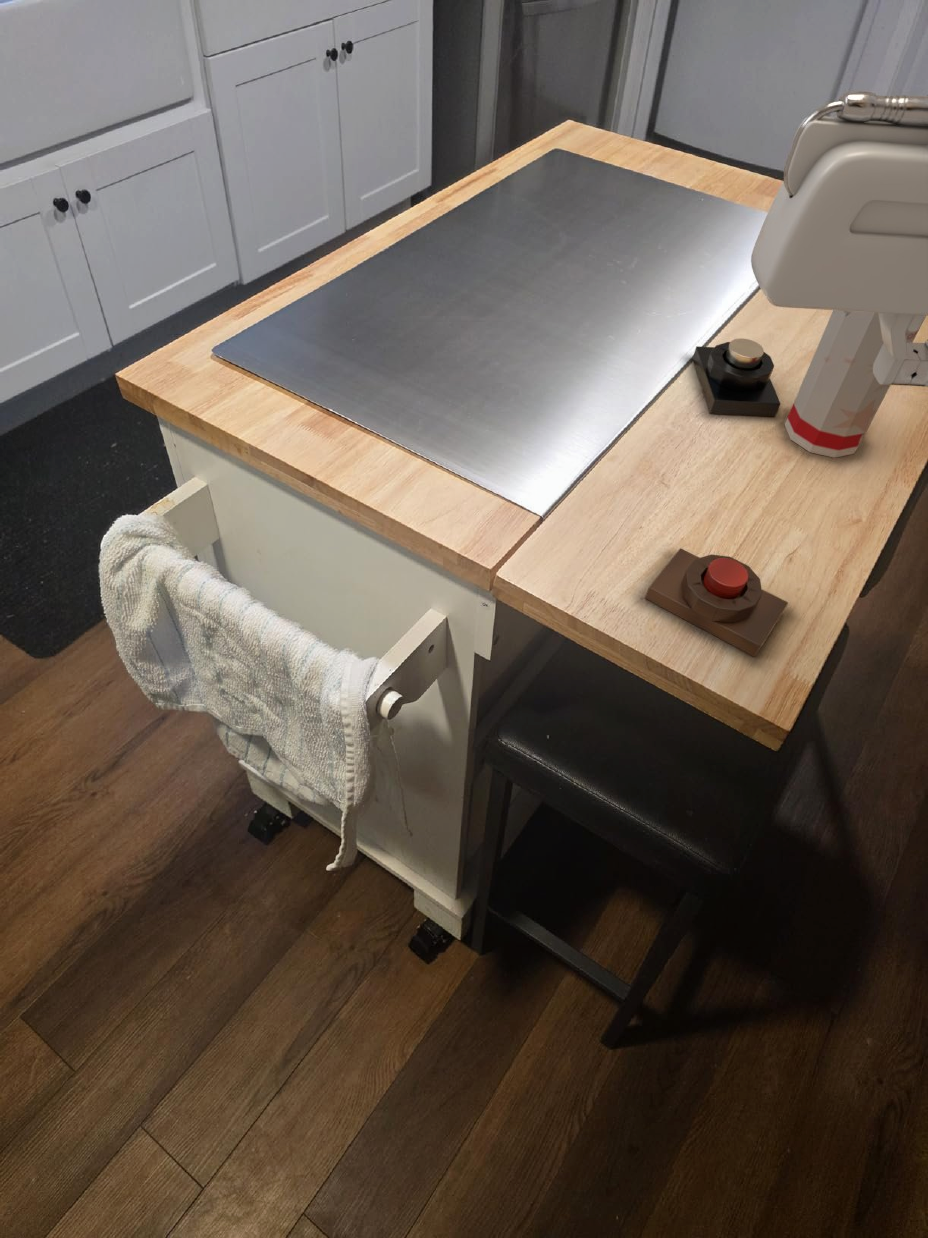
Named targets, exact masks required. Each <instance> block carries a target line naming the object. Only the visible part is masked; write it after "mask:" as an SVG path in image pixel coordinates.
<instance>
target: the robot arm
mask: <svg viewBox="0 0 928 1238" xmlns="http://www.w3.org/2000/svg"><path fill="white" fill-rule="evenodd" d="M833 113H835V114H836V116H827V115H830V114H833ZM750 265H751V269H752V273H753V275H754V278H755V279H756V282H757V284H758V286H759V288H760V290H761V291H762V293H763V294H764V296H765V297H766V299H767V301H768V302H769V303H770V304H771V305H772V306H774V307H776V308H777V307H778V308H786V309H807V310H823V311H833V310H839V311H856V312H873V313H878V314H879V321H880V327H881V334H882V340H883V342H884V343H883V345H882V347H881V349H880V351H879V353H878V355H877V358H876V360H875V362H874V364H873V374H874V376H875V378H876V379H877V381H878V383H879V384H882V385H890V386H905V387H907V386H908V387H923V388H924V387H925V388H928V339H926V340H925V341H924V342H913V343H909V342H906V330H908V331H910V332H915V331H917V330H918V329H919V327H920V325H921V323H922V321H923V320H924V321H925V319H926V317H927V316H928V95H919V94H918V95H915V94H901V95H878V94H876V93H875V92H871V91H865V90H864V91H863V90H856V91H855V90H854V91H849V92H844V93H843V94H842V95H840V97H839V99H838V100H835V101H832V102H831V101H830V102H828V103H826V104H823V105H821V106H820V107H818V108H817V109H816V110H814V111H813V112H812V113H810V114H809V115H808V116H807V117H805V118H804V119H803V120H802V121H801V122H800V124H799V126H798V127H797V129H796V132H795V135H794V137H793V140H792V143H791V146H790V149H789V152H788V155H787V157H786V161H785V163H784V169H783V181H782V183H781V185H780V186H779V188H778V191H777V192H776V195H775V197H774V199H773V201H772V204H771V205H770V208H769V210H768V211H767V214H766V216H765V219H764V221H763V224H762V225H761V228H760V231H759V233H758V236H757V238H756V240H755V243H754V246H753V249H752V252H751V256H750ZM925 316H926V317H925ZM924 318H925V319H924ZM924 321H923V322H924ZM922 324H923V323H922ZM921 326H922V325H921ZM920 328H921V327H920ZM919 330H920V329H919Z"/></svg>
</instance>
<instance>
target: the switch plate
mask: <svg viewBox="0 0 928 1238" xmlns="http://www.w3.org/2000/svg"><path fill="white" fill-rule="evenodd" d="M730 342H731V341H725V342H723V343H720V344H717V345H715V346H699V345H698V346H695V349H694V352H693V356H692V358H691V359H692V363H693V366H694V369H695V372H696V375H697V378H698V381H699V384H700V387H701V391H702V393H703V396H704V399H705V403H706V406H707V408H708V411H709V414H710V415H726V416H727V415H729V416H745V417H746V416H747V417H748V416H750V417H768V418H769V417H770V418H776V416H777V414H778V412H779V409H780V407H781V401H780V399H779V396H778V394H777V392H776V389H775V386H774V384H773V382H772V380H771V376H772V373H773V370H774V369H775V364H774V362H773V359H772V357H771V356H770V355H769V354H768V353H766V352H765V351H764V353H763V356H762V358H761V361H760V364H759V366H758V368H757V369H756V370H754V371H744V370H739V369H736V368H733V367H731V366H730V365H728V364H727V363H726V362H725V360H724V358H725V355H726V352H727V349H728V346H729V343H730Z"/></svg>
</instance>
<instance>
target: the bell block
mask: <svg viewBox="0 0 928 1238" xmlns="http://www.w3.org/2000/svg"><path fill="white" fill-rule="evenodd" d="M719 558H728V559H732V560H735V561H737V562H739V563H740V564H741V565H743V566H744V568H745V569H746V570H747V573H748V580H747V582H746V584H745V587H744V589H743V591H742V593H741V594H740V595H739V596H738V597H736V598H733V599H723V598H719V597H717V596H715V595H713V594H712V593H710V592H709V591H708V590H707V589H706V587H705V585H704V577H705V574H706V572H707V569H708V567H709V565H710V563H711V562H712V561H714V560H716V559H719ZM644 598H645V600H648V602H651V603H653V604H655V605H657V606H658V607H660V608H662V609H664V610H666V611H668V612H669V613H672V614H673V615H675V616H677V617H679V618H681V619H682V620H685V621H686V622H688V623H691V624H692V625H693V626H696V627H698V628H699V629H701V630H704V632H705V631H706V632H707V633H709V634H710V635H713V636H715V637H717V638H718V639H721V640H722V641H724V642H726V643H728V644H730V645H732V646H734V647H735V648H737V649H739V650H741V651H743V652H744V653H747V654H748V655H750V656H752V657H756V656H757V654H758V653H759V651H760V650H761V648H762V646H763V645H764V644H765V642H766V640H767V639H768V637H769V636H770V634H771V633H772V631H773V629H774V628H775V626H776V624H777V623H778V622H779V620H780V618H781V617H782V615H783V613H784V612H785V610H786V607H787V606H788V604H789V602H788V601H786V600H784V599H782V598H780V597H778V596H777V595H774V594H772V593H770V592H768V591H767V590H764V589H762V583H761V578H760V577H759V576H758V575H757V573H756V572H754V570H753V569H752V568H751V567H750V566H749V565H748V564H746V563H744V562H741V561H740V560H738V559H736V558H734V557H732V556H729V555H728V556H727V555H720V554H719V555H718V554H708V555H704V556H702V557H699V556H697V555H695V554H693V553H691V552H689V551H688V550H686V549H683V548H681V547H680V548H679V549H678V550H677V552H676V553H675V554H674V555H673V557H672V558H671V559H670V560H669V561H668V563H667V564H666V565H665V566H664V567H663V569H662V570H661V571H660V573H659V574H658V575H657V576H656V578H655V579H654V580H653V582H652V583H651V584H650V585H649V587H648V589H647V592H646V594H645V597H644Z"/></svg>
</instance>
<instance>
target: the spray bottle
mask: <svg viewBox="0 0 928 1238" xmlns="http://www.w3.org/2000/svg"><path fill="white" fill-rule="evenodd" d="M926 317H927V316H925V318H924V320H923V321H922V323H921V325H920V327H919V329H918V330H917V331H915V332H910V331H908V330H906V342H909V343H914V341H915V339H916V337H917V335H918V333H919V331H920V329H921V328H922V325H923V323H924V321H925V319H926ZM883 343H884V342H883V340H882V334H881V327H880V321H879V314H878V313H873V312H856V311H839V310H832V311H831V314H830V317H829V319H828V321H827V324H826V326H825V328H824V331H823V332H822V335H821V337H820V340H819V343H818V344H817V347H816V350H815V352H814V354H813V357H812V359H811V361H810V364H809V366H808V367H807V370H806V372H805V375H804V378H803V379H802V383H801V385H800V387H799V389H798V392H797V394H796V396H795V399H794V401H793V403H792V406H791V408H790V411H789V412H788V415H787V418H786V419H785V422H784V428H785V430H786V432H787V434H788V436H789V439H790V440H791V441H792V442H793V443H795V444H797V445H798V446H800V447H801V448H802V449H804V450H805V451H807V452H809V453H810V454H811V453H812V454H816V455H821V456H825V457H829V458H834V459H835V458H840V457H846V456H849V455H850V456H851V455H854V454H855V453H856V452H857V449H858V448H859V447H860V445H861V443H862V441H863V439H864V437H865V436H866V435H867V434H866V433H867V432H868V430H869V428H870V426H871V424H872V422H873V420H874V418H875V416H876V414H877V413H878V411H879V408H880V407H881V405H882V403H883V401H884V398H885V397H886V394H887V393H888V391H889V389H890V387H891V385H882V384H879V383H878V381H877V379H876V378H875V376H874V374H873V364H874V362H875V360H876V358H877V355H878V353H879V351H880V349H881V347H882V345H883Z"/></svg>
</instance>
